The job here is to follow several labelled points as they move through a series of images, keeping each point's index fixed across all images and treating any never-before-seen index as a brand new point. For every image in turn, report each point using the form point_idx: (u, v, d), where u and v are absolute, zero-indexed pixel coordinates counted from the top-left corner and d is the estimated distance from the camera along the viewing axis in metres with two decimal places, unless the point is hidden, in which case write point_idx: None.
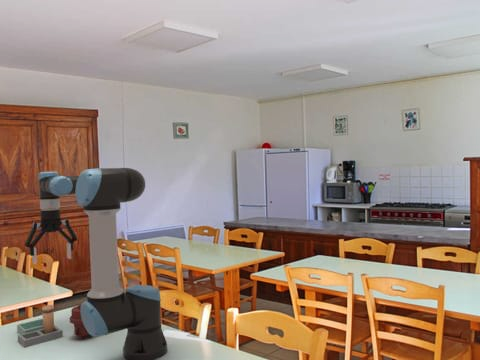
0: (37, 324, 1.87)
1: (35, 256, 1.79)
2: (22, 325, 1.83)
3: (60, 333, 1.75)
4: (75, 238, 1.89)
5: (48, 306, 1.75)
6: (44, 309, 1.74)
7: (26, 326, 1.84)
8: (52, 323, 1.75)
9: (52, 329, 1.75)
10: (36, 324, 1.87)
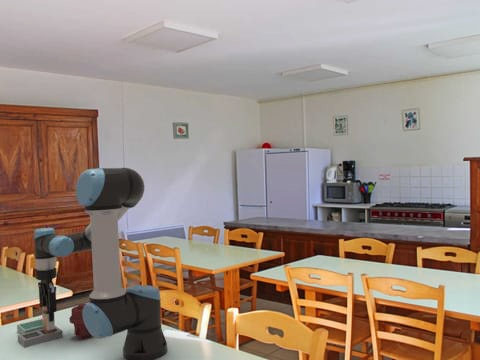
0: (37, 324, 1.87)
1: (42, 319, 1.76)
2: (22, 325, 1.83)
3: (60, 333, 1.75)
4: (49, 310, 1.71)
5: None
6: (44, 309, 1.74)
7: (26, 326, 1.84)
8: None
9: (52, 329, 1.75)
10: (36, 324, 1.87)
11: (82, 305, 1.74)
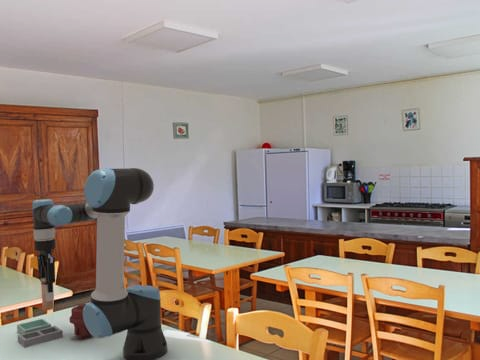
0: (37, 324, 1.87)
1: (41, 291, 1.76)
2: (22, 325, 1.83)
3: (60, 333, 1.75)
4: (48, 280, 1.70)
5: None
6: (43, 280, 1.73)
7: (26, 326, 1.84)
8: None
9: (51, 300, 1.74)
10: (36, 324, 1.87)
11: (82, 305, 1.74)
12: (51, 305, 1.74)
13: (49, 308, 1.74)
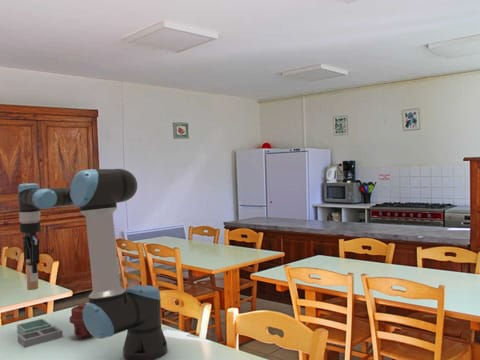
0: (37, 324, 1.87)
1: (26, 271, 1.82)
2: (22, 325, 1.83)
3: (60, 333, 1.75)
4: (32, 261, 1.76)
5: None
6: (28, 261, 1.79)
7: (26, 326, 1.84)
8: None
9: (35, 281, 1.80)
10: (36, 324, 1.87)
11: (82, 305, 1.74)
12: (35, 285, 1.80)
13: (33, 288, 1.80)
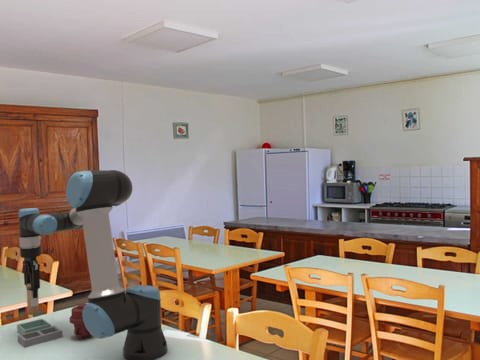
0: (37, 324, 1.87)
1: None
2: (22, 325, 1.83)
3: (60, 333, 1.75)
4: (32, 286, 1.77)
5: None
6: (28, 286, 1.80)
7: (26, 326, 1.84)
8: None
9: None
10: (36, 324, 1.87)
11: (82, 305, 1.74)
12: (36, 310, 1.81)
13: (34, 313, 1.80)
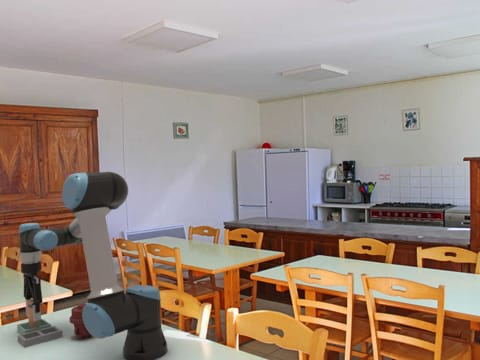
0: None
1: None
2: (22, 325, 1.83)
3: (60, 333, 1.75)
4: (35, 301, 1.76)
5: None
6: (30, 303, 1.80)
7: (26, 326, 1.84)
8: None
9: (37, 323, 1.81)
10: None
11: (82, 305, 1.74)
12: None
13: None
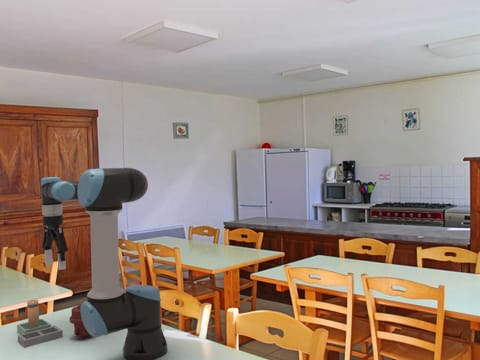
0: None
1: (45, 258, 1.87)
2: (22, 325, 1.83)
3: (60, 333, 1.75)
4: (60, 249, 1.75)
5: (33, 301, 1.82)
6: (29, 304, 1.80)
7: (26, 326, 1.84)
8: (37, 317, 1.81)
9: (37, 323, 1.81)
10: None
11: None
12: None
13: None
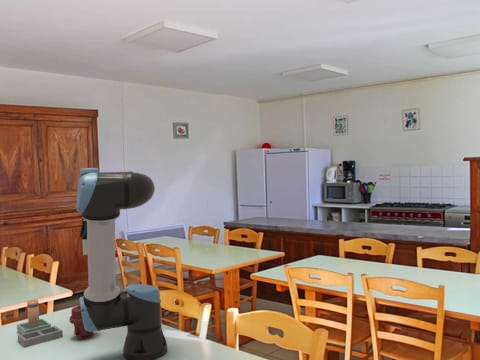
0: None
1: (83, 247, 1.91)
2: (22, 325, 1.83)
3: (60, 333, 1.75)
4: None
5: (33, 301, 1.82)
6: (29, 303, 1.80)
7: (26, 326, 1.84)
8: (37, 317, 1.81)
9: (37, 323, 1.81)
10: None
11: None
12: None
13: None
